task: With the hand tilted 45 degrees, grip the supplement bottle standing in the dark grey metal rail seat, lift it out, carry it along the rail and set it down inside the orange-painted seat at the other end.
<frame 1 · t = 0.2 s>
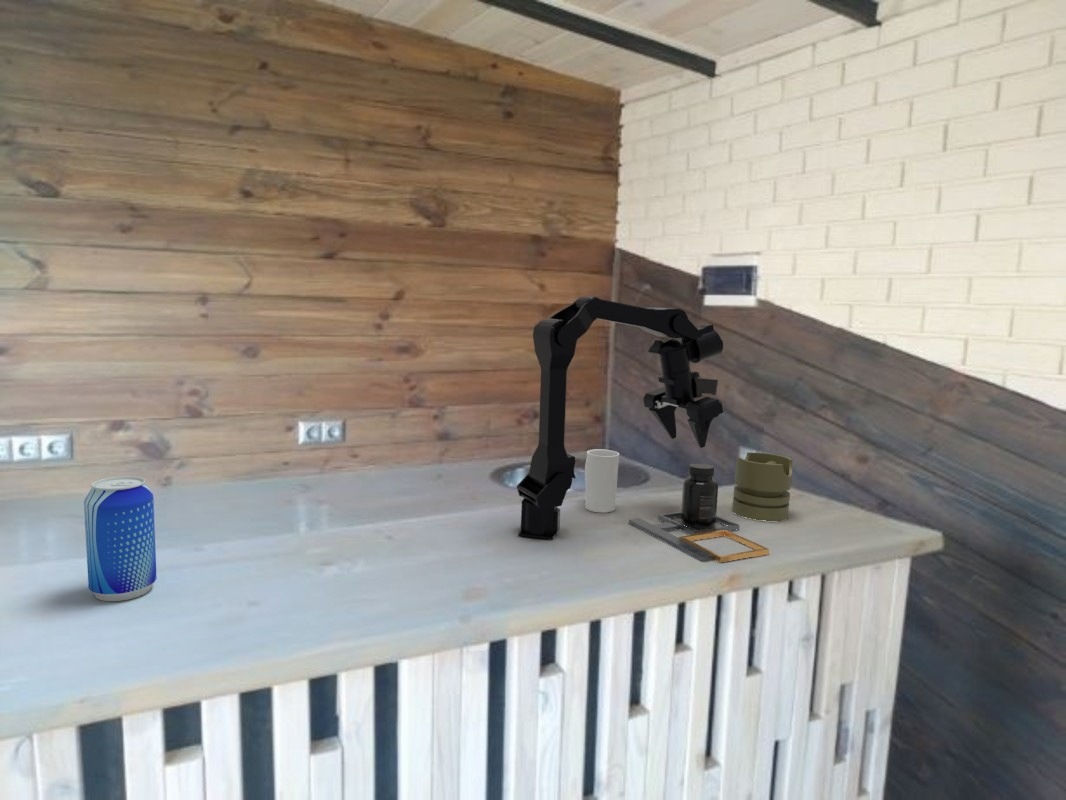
hand: (687, 442, 147), 15 cm above the worktop, tool tilted 15°, fingers open, 9 cm apart
supplement bottle: (697, 525, 143), resting in rail
beer can: (123, 592, 102), on the worktop
piston: (759, 514, 152), on the worktop
rail: (722, 548, 130), on the worktop
mug: (596, 507, 153), on the worktop
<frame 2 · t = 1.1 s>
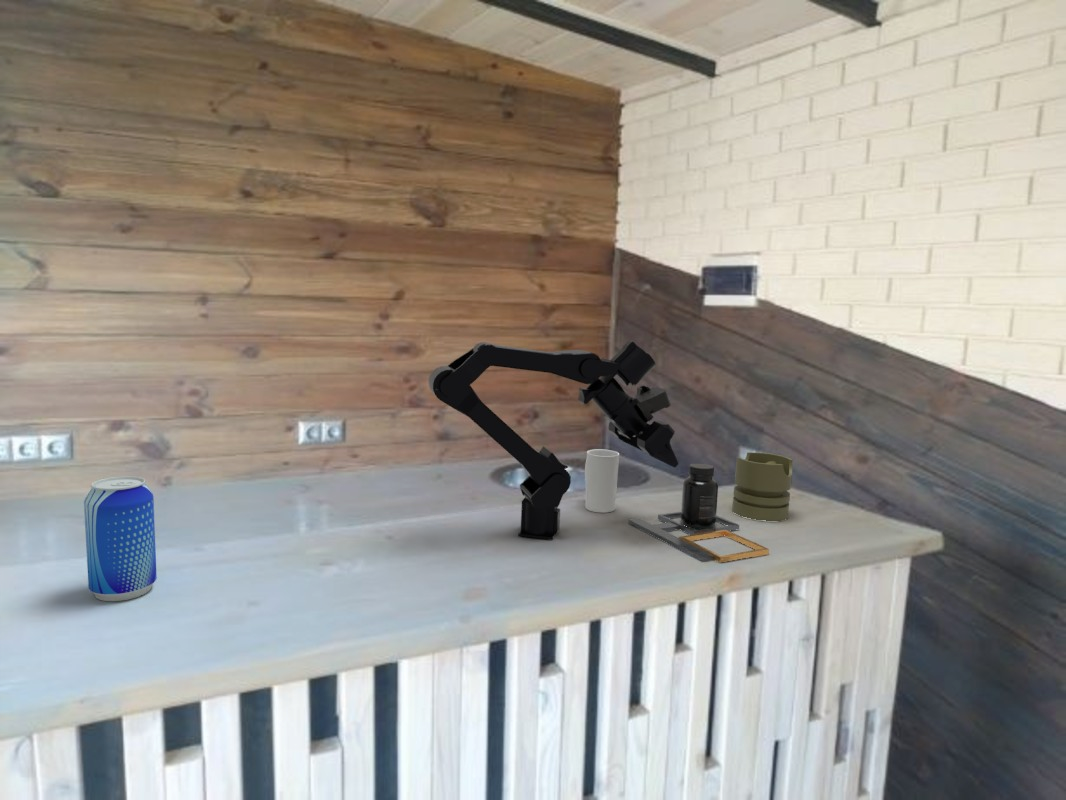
hand: (665, 459, 139), 13 cm above the worktop, tool tilted 45°, fingers open, 9 cm apart
nothing on the worktop moved.
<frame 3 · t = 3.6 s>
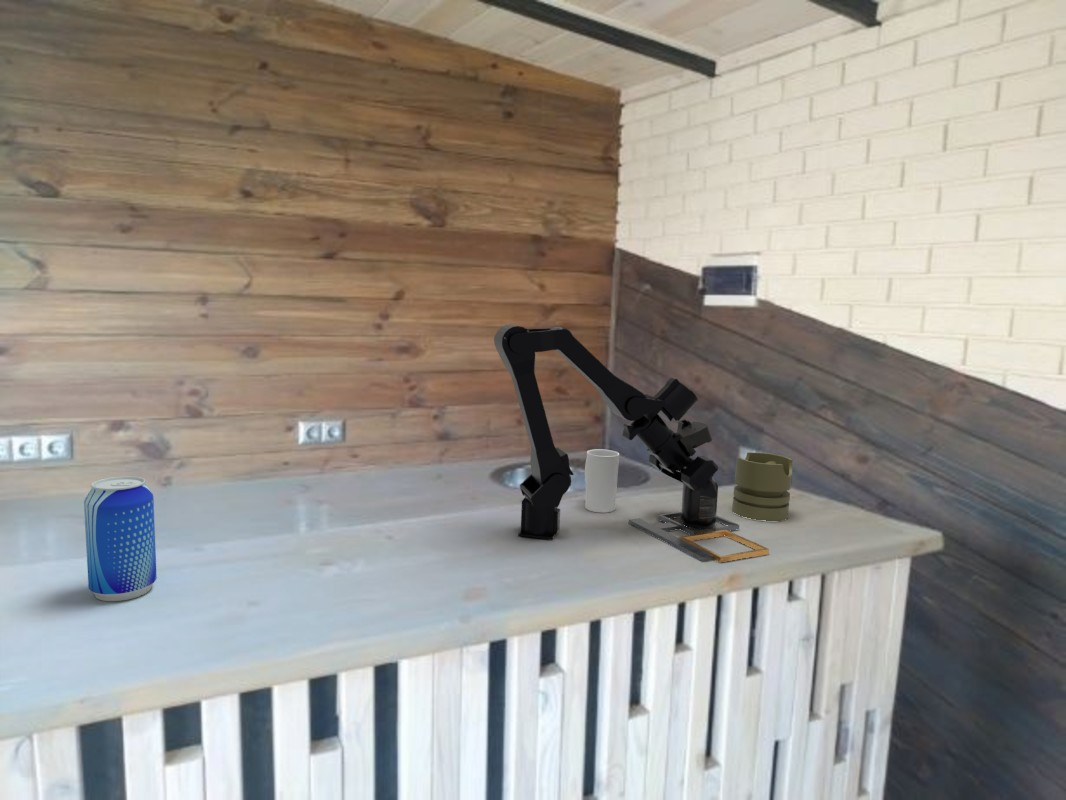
hand: (706, 492, 142), 7 cm above the worktop, tool tilted 45°, fingers closed on supplement bottle, 7 cm apart
supplement bottle: (697, 525, 143), resting in rail, touching gripper
everything else where it was.
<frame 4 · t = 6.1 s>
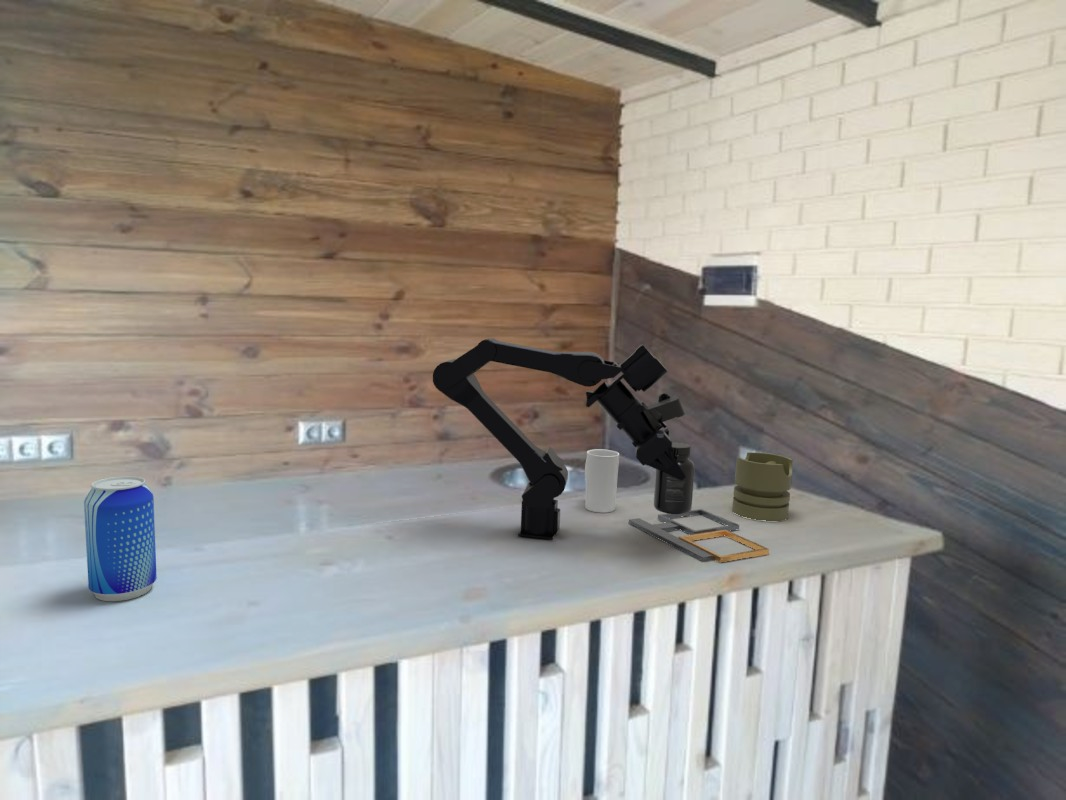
hand: (682, 474, 129), 13 cm above the worktop, tool tilted 45°, fingers closed on supplement bottle, 6 cm apart
supplement bottle: (671, 510, 130), point 6 cm above the worktop, touching gripper
everything else where it was.
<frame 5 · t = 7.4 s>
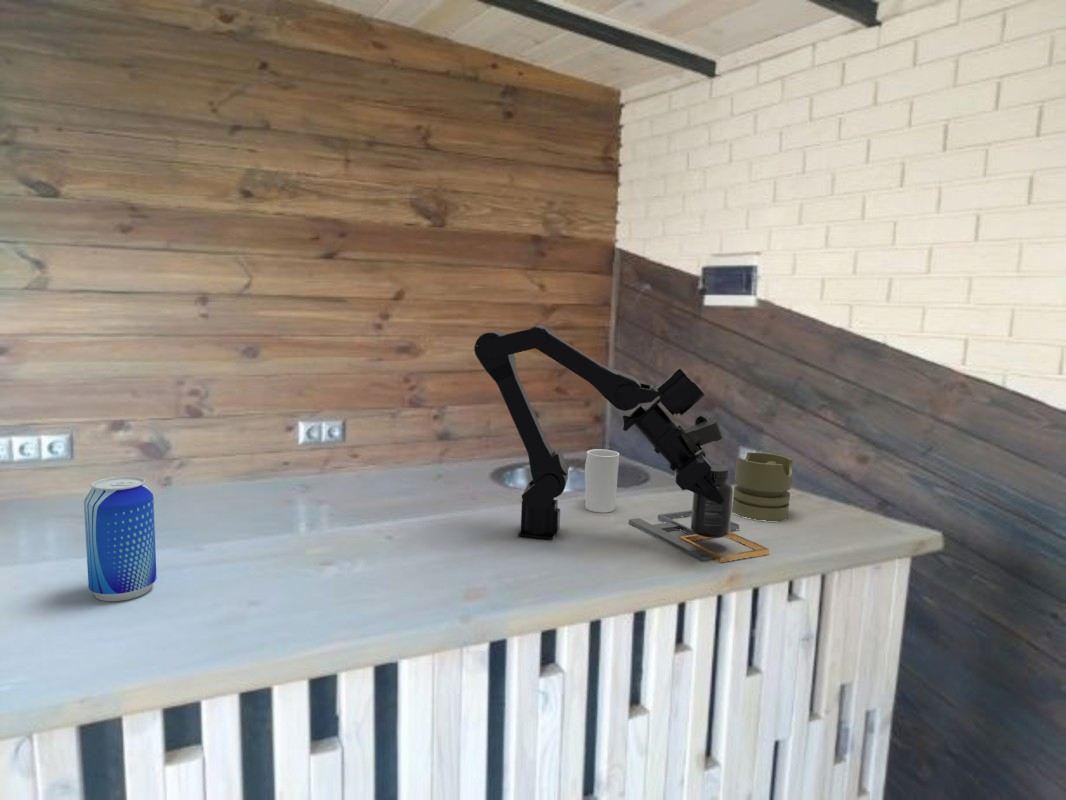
hand: (720, 497, 129), 9 cm above the worktop, tool tilted 45°, fingers closed on supplement bottle, 6 cm apart
supplement bottle: (709, 533, 130), point 3 cm above the worktop, touching gripper
everything else where it was.
when the fingers open (8 cm above the worktop, at t = 8.5 s): supplement bottle drops 1 cm, resting in rail.
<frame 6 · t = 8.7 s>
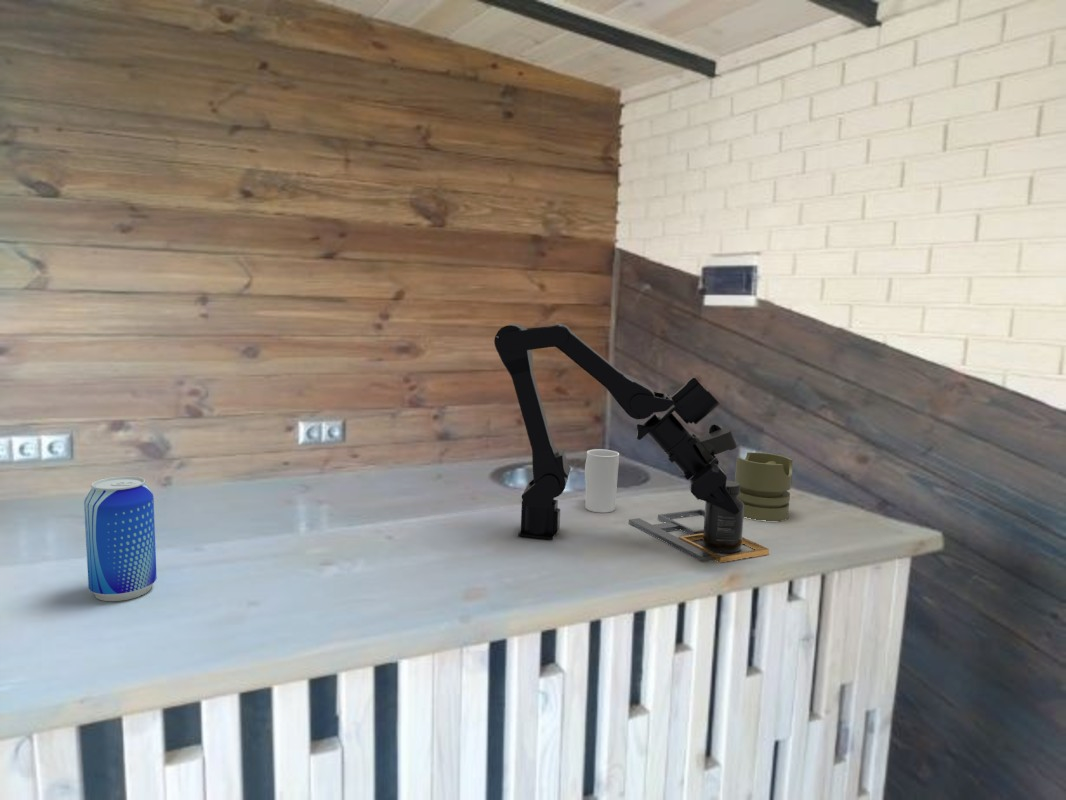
hand: (734, 505, 128), 8 cm above the worktop, tool tilted 45°, fingers open, 8 cm apart
supplement bottle: (721, 548, 130), resting in rail
everything else where it was.
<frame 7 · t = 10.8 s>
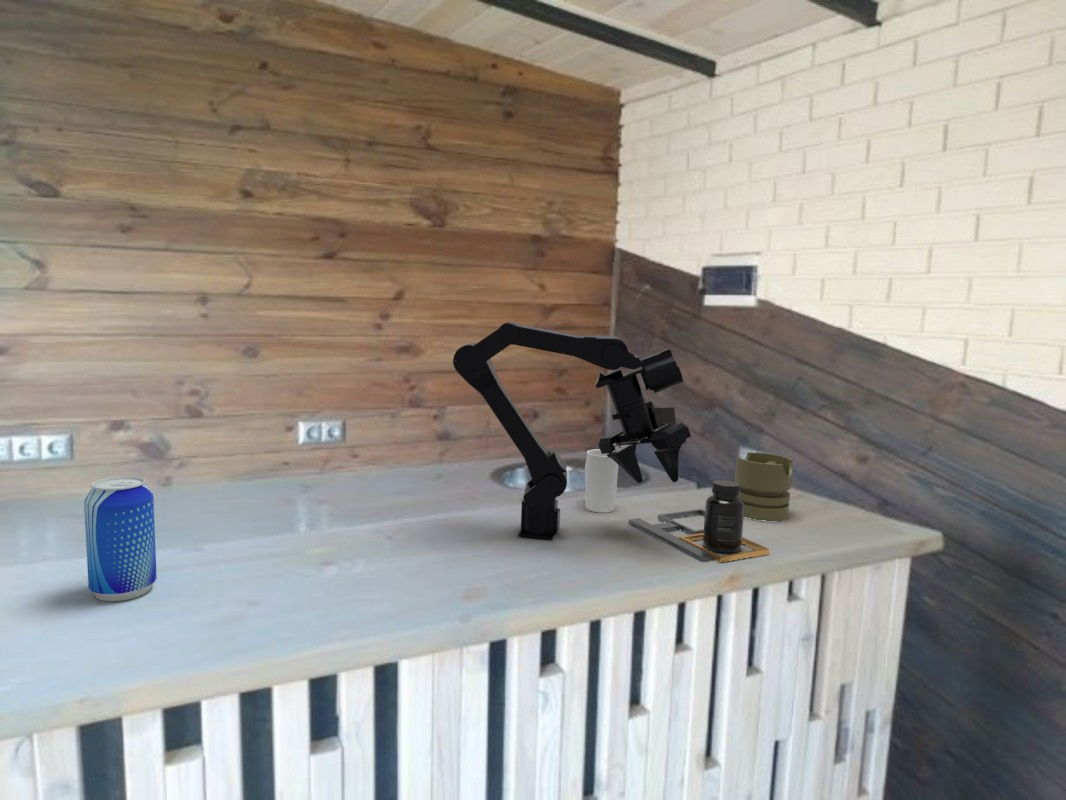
hand: (657, 481, 131), 11 cm above the worktop, tool tilted 25°, fingers open, 9 cm apart
nothing on the worktop moved.
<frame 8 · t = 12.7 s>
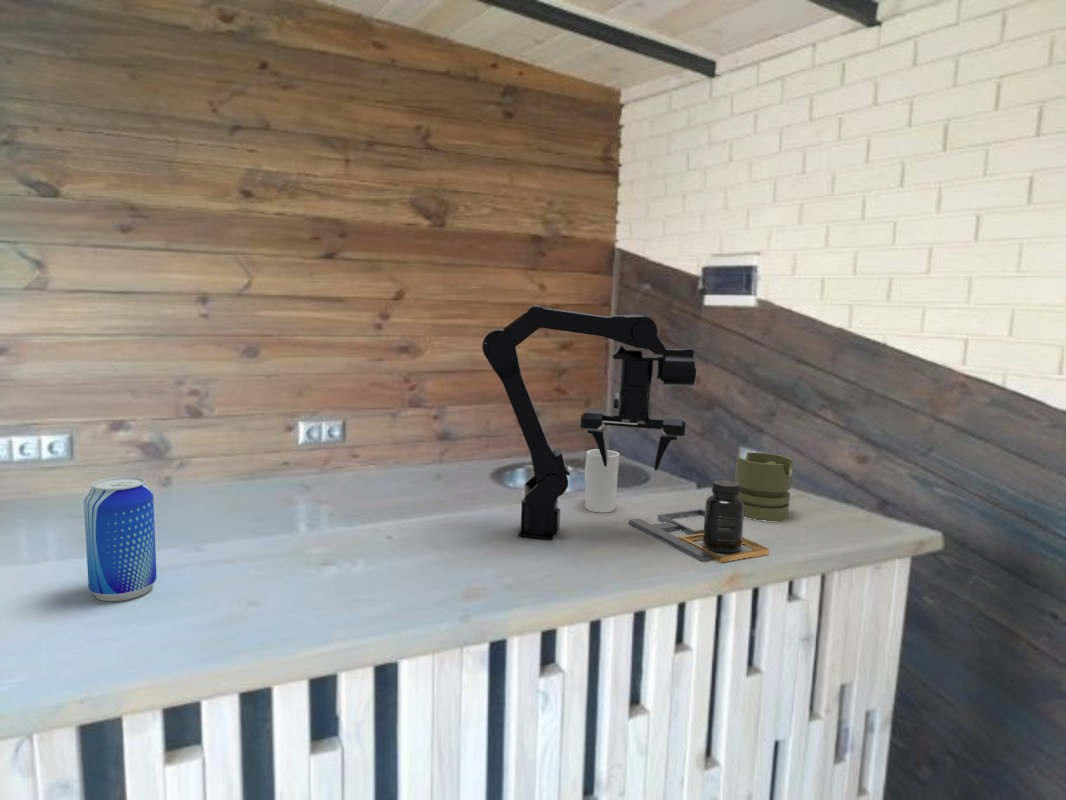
hand: (630, 468, 133), 13 cm above the worktop, tool pointing down, fingers open, 9 cm apart
nothing on the worktop moved.
at the end: supplement bottle inside the target area on the rail (0.4 cm from its centre), point 0.0 cm above the rail's base; supplement bottle tilted 0°; the gripper is holding nothing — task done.
